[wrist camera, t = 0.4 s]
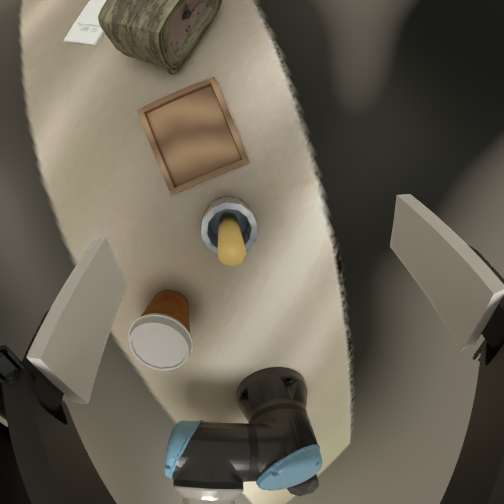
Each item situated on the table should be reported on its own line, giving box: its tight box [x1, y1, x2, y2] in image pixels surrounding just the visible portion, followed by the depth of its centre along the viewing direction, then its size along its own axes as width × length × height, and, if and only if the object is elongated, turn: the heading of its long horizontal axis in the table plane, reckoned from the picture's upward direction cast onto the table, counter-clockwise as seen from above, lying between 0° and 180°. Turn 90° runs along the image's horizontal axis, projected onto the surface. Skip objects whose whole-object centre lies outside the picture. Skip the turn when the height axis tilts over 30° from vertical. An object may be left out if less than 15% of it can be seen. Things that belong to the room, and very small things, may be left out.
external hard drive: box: [64, 0, 107, 46], centre depth 27 cm, size 2×8×12 cm
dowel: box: [218, 212, 246, 266], centre depth 34 cm, size 3×3×15 cm
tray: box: [137, 77, 250, 195], centre depth 36 cm, size 14×12×2 cm
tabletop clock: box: [98, 0, 222, 74], centre depth 20 cm, size 14×9×25 cm, turn 153°
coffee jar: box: [287, 474, 319, 496], centre depth 54 cm, size 10×8×19 cm
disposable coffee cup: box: [128, 290, 193, 371], centre depth 40 cm, size 10×10×12 cm
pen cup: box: [201, 197, 258, 256], centre depth 39 cm, size 7×7×7 cm
